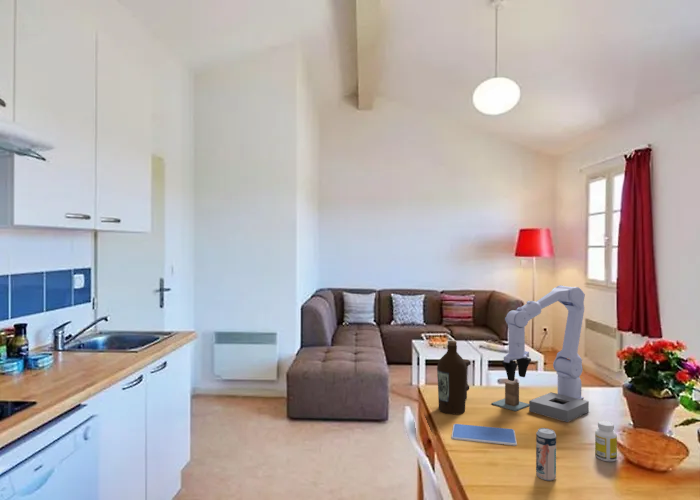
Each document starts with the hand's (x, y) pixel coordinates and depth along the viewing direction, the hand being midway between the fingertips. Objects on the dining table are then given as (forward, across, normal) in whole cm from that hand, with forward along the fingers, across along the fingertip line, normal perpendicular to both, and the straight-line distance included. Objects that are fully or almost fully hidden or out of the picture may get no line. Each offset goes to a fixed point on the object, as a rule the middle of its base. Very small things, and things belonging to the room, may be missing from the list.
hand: (516, 378), depth 180 cm
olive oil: (+10, -24, +12) cm, 29 cm away
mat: (+10, -2, +1) cm, 10 cm away
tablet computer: (+10, -35, -9) cm, 38 cm away
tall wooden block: (+9, -2, 0) cm, 10 cm away
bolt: (+10, -10, +17) cm, 22 cm away
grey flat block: (+10, +5, -14) cm, 18 cm away
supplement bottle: (+10, -22, -41) cm, 48 cm away
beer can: (+10, -46, -36) cm, 60 cm away
